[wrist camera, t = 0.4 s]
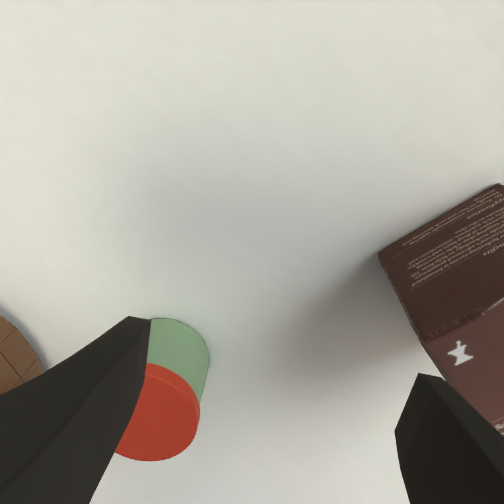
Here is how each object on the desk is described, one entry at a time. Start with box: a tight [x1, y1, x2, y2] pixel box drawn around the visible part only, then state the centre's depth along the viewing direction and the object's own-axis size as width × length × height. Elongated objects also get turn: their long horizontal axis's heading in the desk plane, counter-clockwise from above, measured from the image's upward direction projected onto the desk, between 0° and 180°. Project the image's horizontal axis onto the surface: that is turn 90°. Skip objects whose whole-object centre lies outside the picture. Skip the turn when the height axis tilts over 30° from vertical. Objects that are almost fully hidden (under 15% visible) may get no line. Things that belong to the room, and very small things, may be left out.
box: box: [378, 183, 504, 436], centre depth 17 cm, size 6×6×7 cm
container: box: [115, 318, 210, 461], centre depth 22 cm, size 5×5×5 cm
